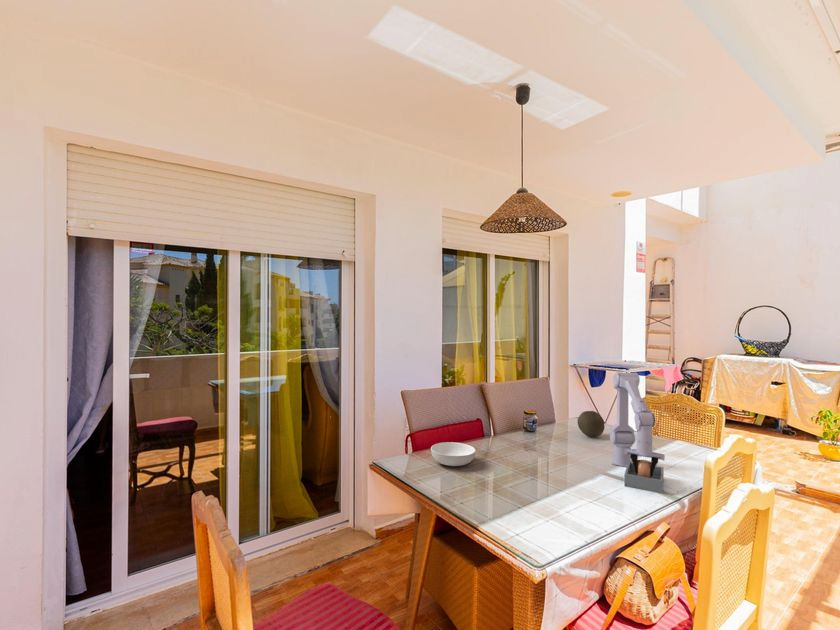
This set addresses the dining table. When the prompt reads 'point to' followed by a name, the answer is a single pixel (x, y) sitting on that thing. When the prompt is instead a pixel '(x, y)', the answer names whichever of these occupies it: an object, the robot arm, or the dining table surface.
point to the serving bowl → (453, 453)
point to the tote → (644, 479)
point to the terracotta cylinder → (644, 468)
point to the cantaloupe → (591, 423)
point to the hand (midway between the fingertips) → (644, 474)
